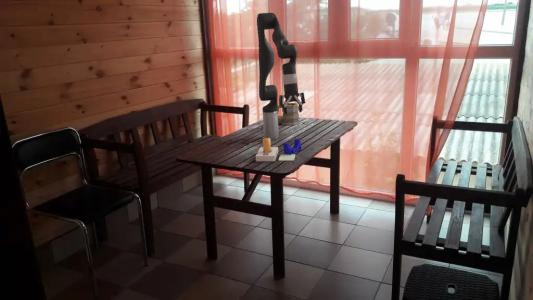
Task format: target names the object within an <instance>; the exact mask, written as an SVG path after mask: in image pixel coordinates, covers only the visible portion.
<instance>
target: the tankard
mask: <svg viewBox="0 0 533 300" xmlns="http://www.w3.org/2000/svg"><path fill="white" fill-rule="evenodd" d="M298 105H299V104H298V103H297V102H289V103H288V104H287V106H286V107H287V114H285V113H284V112H283V107H281V106H279V104H278V107H277V112H278V113H279V112H280V109H281V111H282V116H281V117H282V118H279V117H278V123H279V122H280V123H281V125H283V126H287V127H288V126H289V127H290V126H291V127H292V126H297V125H300V124H301V120H300V119H299V117H300V112H299V106H298Z"/></svg>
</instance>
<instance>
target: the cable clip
mask: <svg viewBox="0 0 533 300" xmlns="http://www.w3.org/2000/svg"><path fill="white" fill-rule="evenodd" d="M293 142H294V143H293V145H292V146H293V147H291V145H290V143H289V142H284V143H282V146H283V152H284V153H283V154H296V153H297V152H299V151H300V150H302V148H303V147H302V142H301V138H295V139H294V141H293Z"/></svg>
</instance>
